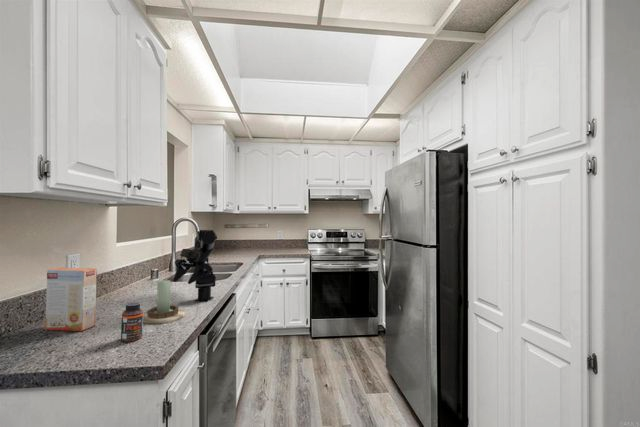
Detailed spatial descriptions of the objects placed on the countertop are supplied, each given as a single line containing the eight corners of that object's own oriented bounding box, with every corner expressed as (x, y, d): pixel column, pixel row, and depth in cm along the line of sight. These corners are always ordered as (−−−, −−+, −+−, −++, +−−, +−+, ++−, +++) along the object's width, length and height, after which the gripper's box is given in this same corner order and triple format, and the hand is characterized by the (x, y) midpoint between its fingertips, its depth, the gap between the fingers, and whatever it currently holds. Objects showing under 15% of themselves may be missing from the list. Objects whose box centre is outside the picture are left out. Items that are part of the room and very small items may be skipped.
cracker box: (96, 325, 106) (97, 267, 107) (81, 332, 100) (83, 270, 101) (61, 324, 108) (62, 266, 108) (44, 330, 102) (46, 269, 102)
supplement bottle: (124, 344, 91) (125, 307, 91) (117, 339, 95) (118, 304, 95) (145, 338, 96) (146, 303, 96) (138, 333, 99) (138, 300, 100)
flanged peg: (157, 311, 120) (158, 279, 120) (175, 311, 121) (176, 279, 121) (149, 317, 113) (150, 283, 113) (169, 316, 114) (169, 283, 114)
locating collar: (158, 309, 126) (158, 302, 126) (193, 311, 123) (193, 304, 124) (129, 322, 110) (129, 314, 110) (168, 325, 108) (169, 317, 108)
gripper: (178, 241, 133) (154, 268, 123) (207, 242, 125) (184, 272, 115) (192, 256, 140) (171, 284, 130) (221, 259, 131) (200, 289, 121)
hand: (181, 282), depth 124 cm, fingers open, 9 cm apart
